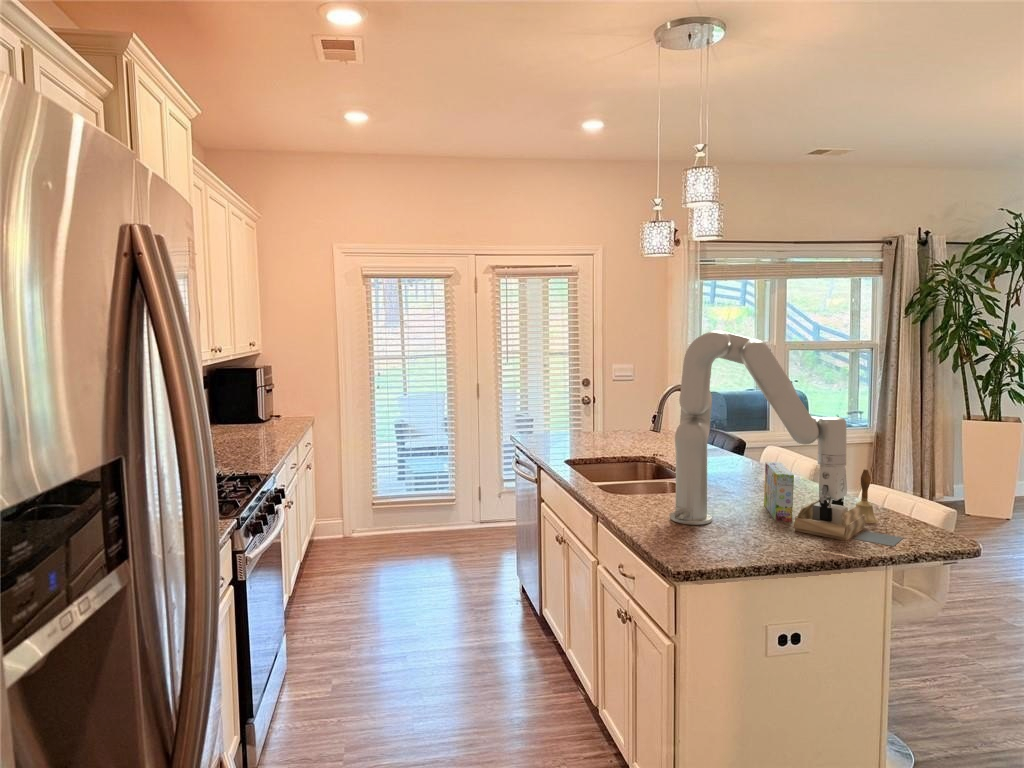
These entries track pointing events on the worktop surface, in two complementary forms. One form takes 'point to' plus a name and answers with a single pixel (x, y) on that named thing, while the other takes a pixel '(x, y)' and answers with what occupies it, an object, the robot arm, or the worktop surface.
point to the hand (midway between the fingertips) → (831, 517)
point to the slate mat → (879, 538)
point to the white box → (836, 513)
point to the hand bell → (864, 504)
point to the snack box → (778, 491)
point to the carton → (850, 518)
